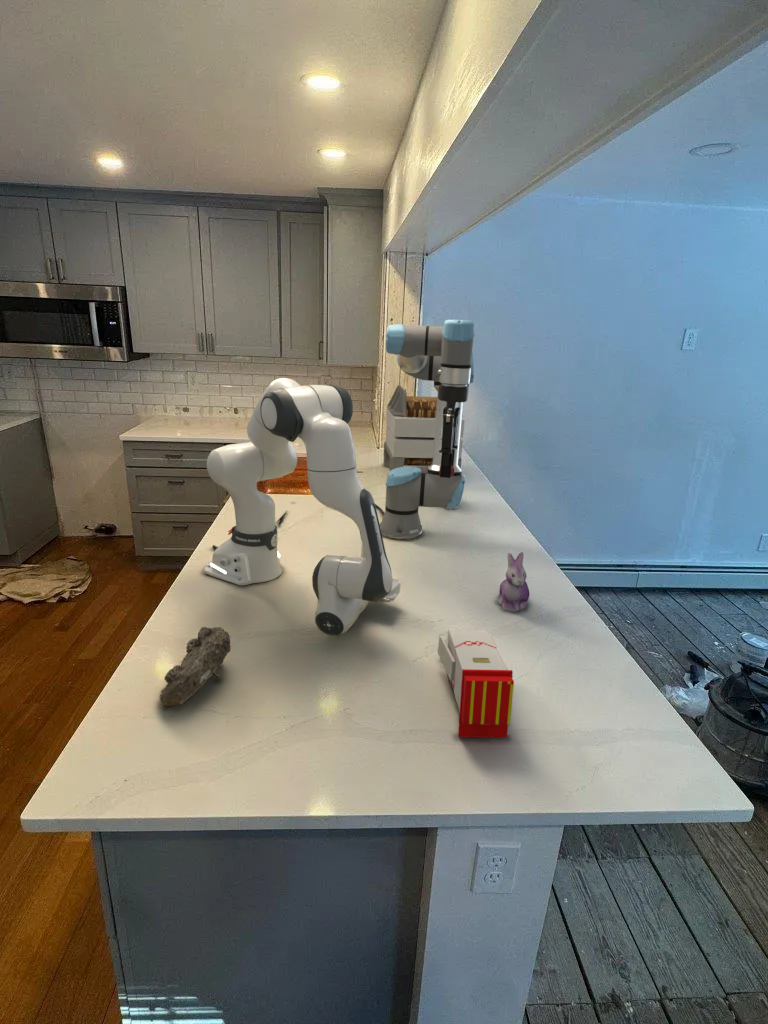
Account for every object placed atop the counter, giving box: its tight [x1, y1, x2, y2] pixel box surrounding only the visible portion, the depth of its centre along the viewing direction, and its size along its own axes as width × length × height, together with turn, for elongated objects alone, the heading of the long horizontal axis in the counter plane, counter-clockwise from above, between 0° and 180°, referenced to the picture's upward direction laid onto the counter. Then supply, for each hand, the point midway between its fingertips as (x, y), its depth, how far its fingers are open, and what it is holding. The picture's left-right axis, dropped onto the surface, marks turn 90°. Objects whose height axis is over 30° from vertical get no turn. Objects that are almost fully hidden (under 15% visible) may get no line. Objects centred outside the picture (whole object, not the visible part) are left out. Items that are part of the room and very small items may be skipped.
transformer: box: [383, 384, 465, 472], centre depth 268 cm, size 34×33×41 cm
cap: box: [439, 466, 454, 476], centre depth 149 cm, size 4×4×2 cm
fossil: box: [159, 626, 232, 707], centre depth 118 cm, size 22×10×15 cm
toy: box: [437, 628, 515, 738], centre depth 117 cm, size 12×13×30 cm
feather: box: [275, 510, 288, 528], centre depth 213 cm, size 2×28×2 cm
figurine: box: [497, 551, 530, 612], centre depth 152 cm, size 9×10×15 cm
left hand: (370, 572), depth 156 cm, fingers closed on bottle, 5 cm apart
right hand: (446, 474), depth 149 cm, fingers closed on cap, 4 cm apart
